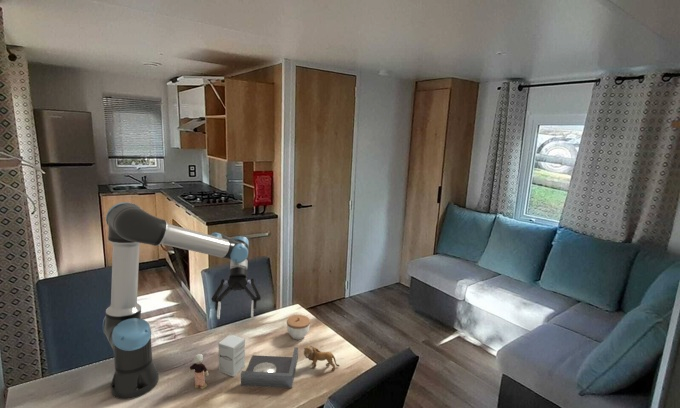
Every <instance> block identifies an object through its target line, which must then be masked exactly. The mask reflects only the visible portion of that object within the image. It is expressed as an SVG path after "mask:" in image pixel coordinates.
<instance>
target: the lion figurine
mask: <svg viewBox="0 0 680 408" xmlns="http://www.w3.org/2000/svg"><path fill="white" fill-rule="evenodd" d="M303 355H304V357H305V358H306V359H308V360H309V361H312V362H311V364H312V367H311V368H312V369H316V367H317V362H318V361H320V362H323V361H327V363H326V366H331V367H332V368H331V371H336V367H340V364H337V360H336V357H335V355H334V354H333V353H332V352H330V351H322V350H321V351H320V350H319V349H318V348H316V347H314V346H312V345H307V346H305V347H304V351H303ZM333 361H334V362H333Z"/></svg>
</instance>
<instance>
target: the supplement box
mask: <svg viewBox="0 0 680 408" xmlns="http://www.w3.org/2000/svg"><path fill="white" fill-rule="evenodd" d="M245 359H246V338H243V337H240V336H237V335H234V334H228V335H227V336H225V338H223V339H222V340H221V341H219V342H218V372H219V373H222V374H225V375H228V376H231V377H233V378H234V377H235V376H237V374H238V373H240V371H241V372H242V371H243V369H244V368H245V366H246V365H245V363H246V360H245Z"/></svg>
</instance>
